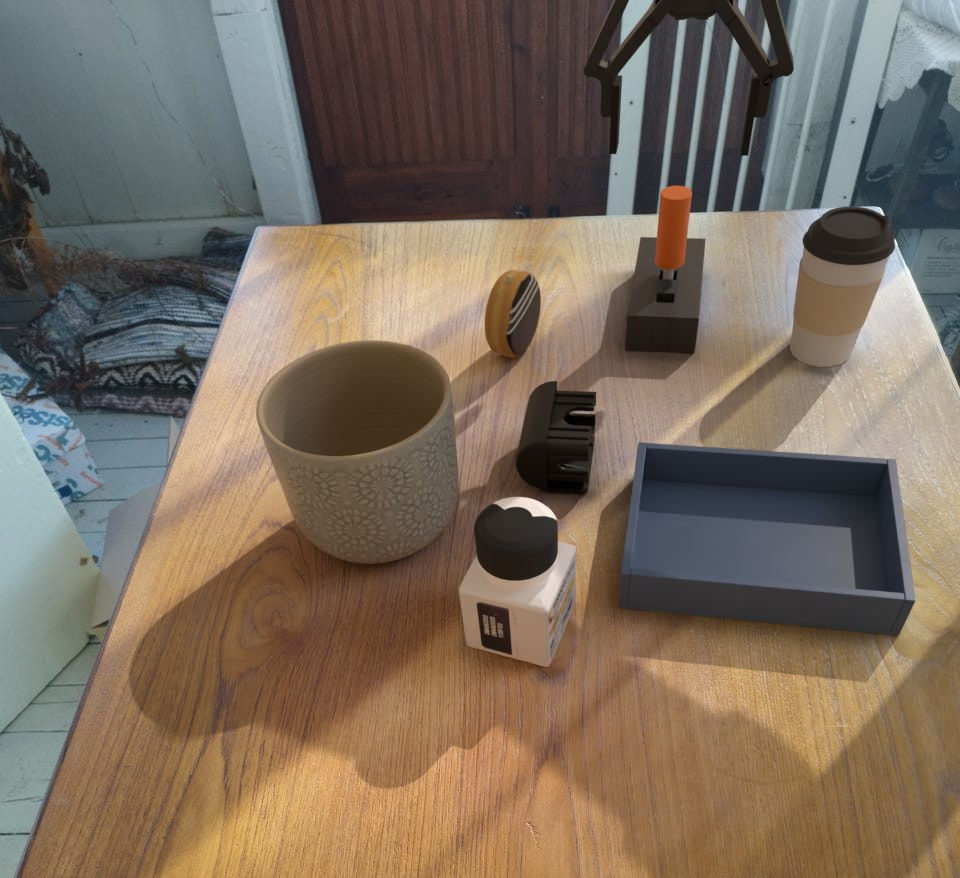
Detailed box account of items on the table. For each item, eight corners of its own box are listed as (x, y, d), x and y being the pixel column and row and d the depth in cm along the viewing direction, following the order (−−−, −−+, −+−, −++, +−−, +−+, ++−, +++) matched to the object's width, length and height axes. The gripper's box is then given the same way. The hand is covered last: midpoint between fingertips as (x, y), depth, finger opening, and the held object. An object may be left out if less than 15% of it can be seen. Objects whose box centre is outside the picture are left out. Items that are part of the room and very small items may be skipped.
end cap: (529, 432, 94) (527, 378, 89) (595, 434, 93) (597, 380, 88) (516, 494, 88) (513, 441, 83) (587, 498, 87) (588, 444, 82)
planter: (499, 502, 87) (489, 371, 75) (397, 613, 79) (367, 484, 67) (369, 449, 94) (341, 321, 82) (262, 546, 86) (214, 419, 74)
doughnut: (511, 375, 101) (506, 294, 93) (483, 368, 102) (476, 288, 94) (545, 332, 106) (543, 252, 98) (517, 326, 107) (513, 247, 99)
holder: (701, 272, 111) (705, 238, 108) (694, 353, 101) (699, 318, 97) (638, 270, 113) (640, 236, 109) (624, 350, 102) (627, 315, 99)
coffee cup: (775, 367, 98) (804, 236, 86) (783, 323, 103) (811, 194, 91) (860, 376, 96) (902, 243, 84) (863, 331, 101) (903, 200, 89)
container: (548, 669, 74) (546, 564, 64) (465, 647, 76) (449, 542, 66) (576, 604, 78) (578, 495, 68) (496, 584, 80) (486, 477, 70)
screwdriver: (679, 302, 108) (692, 185, 97) (677, 318, 105) (691, 200, 94) (651, 301, 108) (661, 185, 97) (649, 316, 106) (659, 199, 95)
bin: (882, 495, 84) (896, 458, 80) (899, 636, 73) (916, 601, 70) (635, 477, 88) (638, 442, 85) (618, 607, 78) (620, 573, 74)
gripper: (556, -93, 76) (556, 163, 92) (859, -104, 71) (801, 166, 88) (568, -115, 80) (566, 133, 97) (853, -127, 76) (799, 135, 92)
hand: (678, 149), depth 92 cm, fingers open, 13 cm apart
